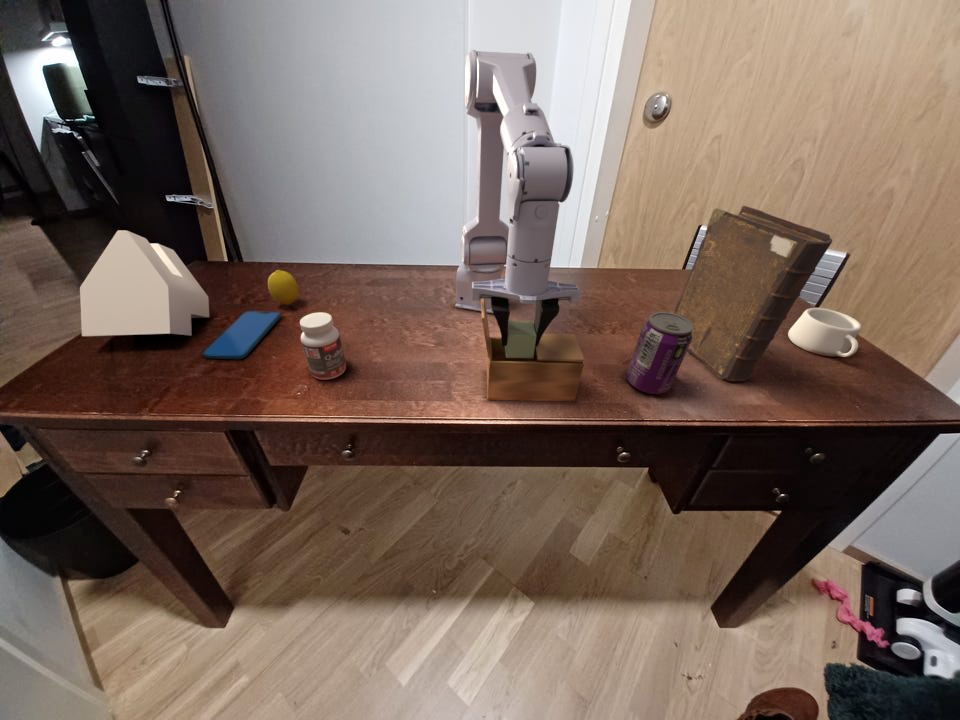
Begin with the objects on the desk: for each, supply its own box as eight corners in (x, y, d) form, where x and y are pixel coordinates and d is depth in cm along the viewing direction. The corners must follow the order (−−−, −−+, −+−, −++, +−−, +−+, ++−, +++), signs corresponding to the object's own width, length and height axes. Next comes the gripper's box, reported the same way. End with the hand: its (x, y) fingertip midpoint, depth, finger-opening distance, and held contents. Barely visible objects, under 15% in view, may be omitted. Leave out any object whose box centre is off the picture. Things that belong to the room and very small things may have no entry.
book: (753, 383, 63) (844, 237, 48) (716, 386, 62) (797, 238, 47) (693, 331, 76) (750, 204, 61) (662, 333, 75) (711, 205, 60)
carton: (487, 400, 57) (489, 357, 52) (486, 372, 63) (488, 332, 58) (574, 401, 58) (585, 359, 53) (566, 374, 63) (575, 334, 58)
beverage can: (673, 400, 58) (702, 337, 51) (627, 393, 59) (650, 331, 52) (664, 373, 64) (690, 313, 57) (622, 367, 65) (642, 307, 58)
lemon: (268, 307, 78) (256, 272, 74) (288, 297, 83) (278, 263, 78) (288, 313, 77) (277, 277, 72) (308, 302, 81) (298, 267, 76)
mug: (775, 331, 77) (790, 305, 73) (819, 331, 77) (836, 306, 74) (819, 365, 67) (839, 338, 64) (869, 366, 68) (892, 338, 64)
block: (506, 357, 54) (508, 335, 52) (504, 342, 57) (506, 320, 55) (533, 358, 54) (536, 335, 52) (530, 343, 57) (533, 321, 55)
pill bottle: (336, 383, 59) (323, 331, 53) (304, 378, 60) (287, 327, 54) (352, 362, 64) (341, 312, 58) (322, 358, 64) (308, 308, 59)
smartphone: (199, 354, 63) (245, 310, 75) (202, 359, 63) (247, 314, 75) (242, 356, 63) (281, 312, 75) (244, 360, 63) (283, 316, 75)
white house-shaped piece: (210, 337, 75) (206, 249, 75) (170, 333, 63) (165, 230, 63) (136, 340, 73) (132, 250, 73) (81, 336, 62) (77, 230, 62)
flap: (491, 358, 52) (488, 358, 52) (489, 333, 58) (487, 333, 58) (484, 317, 48) (481, 318, 48) (483, 294, 54) (481, 295, 54)
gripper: (472, 265, 43) (470, 357, 51) (593, 268, 44) (572, 359, 52) (472, 244, 49) (471, 330, 57) (579, 247, 49) (563, 332, 57)
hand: (519, 342), depth 55 cm, fingers closed on block, 4 cm apart
